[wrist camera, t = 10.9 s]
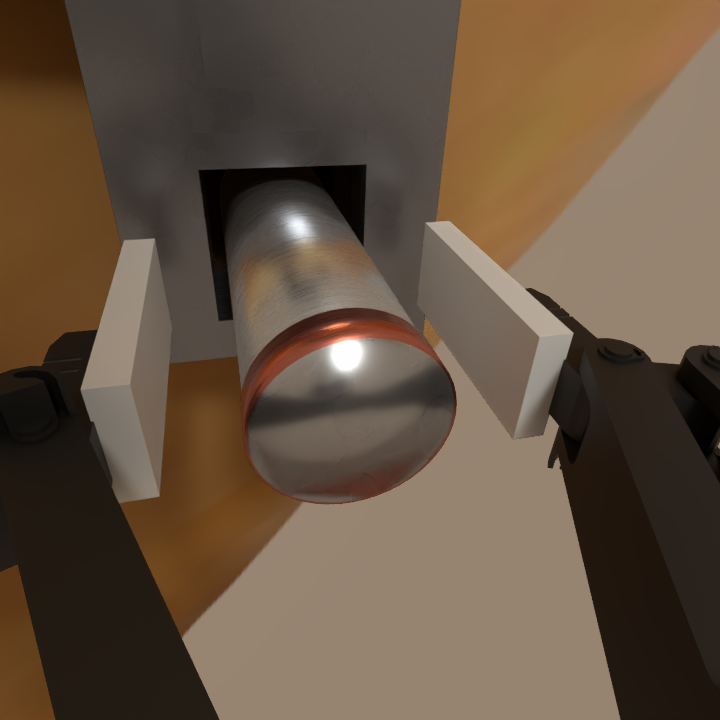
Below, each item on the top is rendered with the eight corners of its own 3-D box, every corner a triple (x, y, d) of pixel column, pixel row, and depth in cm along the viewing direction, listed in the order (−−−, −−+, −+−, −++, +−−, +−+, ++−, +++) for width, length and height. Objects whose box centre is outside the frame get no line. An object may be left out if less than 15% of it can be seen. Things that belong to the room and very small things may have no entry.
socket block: (64, -159, 15) (14, -217, 11) (411, -126, 17) (480, -164, 13) (157, 299, 22) (149, 366, 18) (386, 280, 25) (422, 336, 21)
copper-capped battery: (212, 146, 20) (232, 349, 8) (321, 143, 21) (470, 324, 9) (224, 250, 22) (253, 519, 11) (322, 244, 23) (443, 485, 12)
